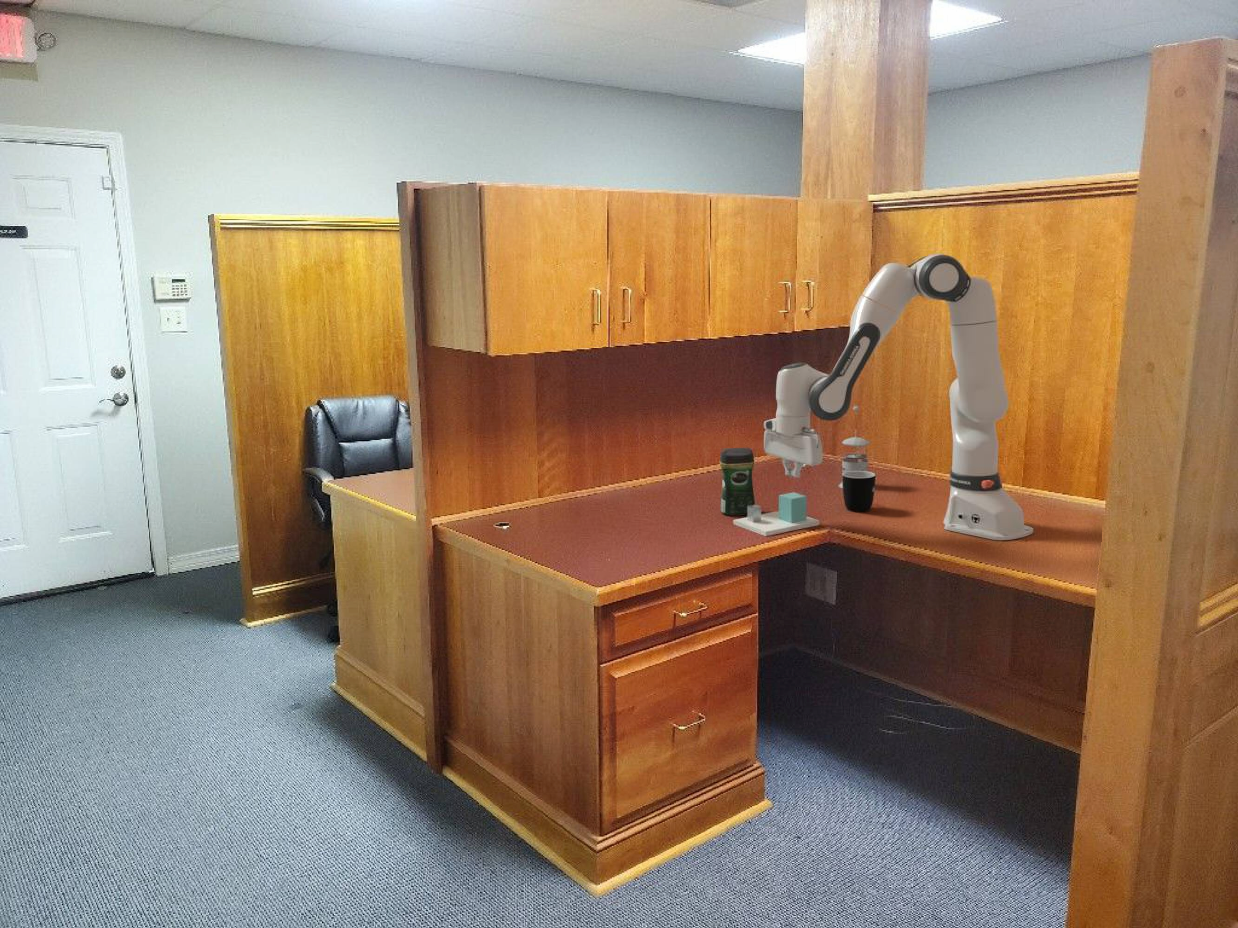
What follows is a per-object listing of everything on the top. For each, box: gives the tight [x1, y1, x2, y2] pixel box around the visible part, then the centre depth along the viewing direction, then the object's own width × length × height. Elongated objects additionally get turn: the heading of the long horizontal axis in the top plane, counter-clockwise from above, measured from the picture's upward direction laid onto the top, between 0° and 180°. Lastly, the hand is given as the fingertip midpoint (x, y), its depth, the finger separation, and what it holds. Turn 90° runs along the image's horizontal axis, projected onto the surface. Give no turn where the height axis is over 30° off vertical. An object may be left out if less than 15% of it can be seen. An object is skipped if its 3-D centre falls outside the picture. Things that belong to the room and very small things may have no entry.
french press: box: [838, 405, 870, 489], centre depth 298 cm, size 10×12×25 cm
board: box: [732, 510, 820, 537], centre depth 261 cm, size 14×18×1 cm
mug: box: [841, 470, 876, 513], centre depth 274 cm, size 12×9×10 cm
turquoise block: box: [778, 491, 808, 523], centre depth 260 cm, size 5×5×7 cm
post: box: [746, 504, 762, 523], centre depth 261 cm, size 3×3×4 cm
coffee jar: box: [719, 447, 756, 516], centre depth 272 cm, size 10×8×19 cm
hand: (792, 476), depth 259 cm, fingers closed
